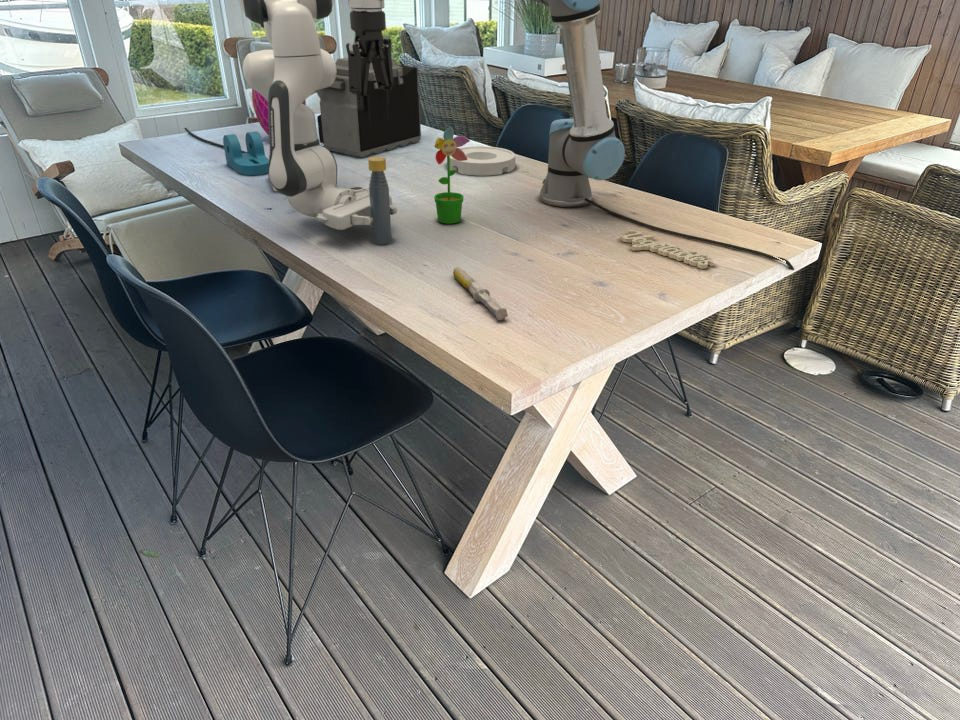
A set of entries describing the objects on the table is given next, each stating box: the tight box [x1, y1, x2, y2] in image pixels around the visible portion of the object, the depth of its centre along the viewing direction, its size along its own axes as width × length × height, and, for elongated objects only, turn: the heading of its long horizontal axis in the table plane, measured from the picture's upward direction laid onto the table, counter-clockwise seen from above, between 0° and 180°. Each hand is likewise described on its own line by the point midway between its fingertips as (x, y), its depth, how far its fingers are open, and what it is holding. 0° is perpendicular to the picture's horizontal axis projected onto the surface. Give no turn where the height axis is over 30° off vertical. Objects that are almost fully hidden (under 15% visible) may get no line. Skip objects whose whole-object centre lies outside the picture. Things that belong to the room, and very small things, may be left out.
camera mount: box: [222, 131, 269, 176], centre depth 226 cm, size 18×10×10 cm, turn 35°
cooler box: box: [315, 57, 422, 159], centre depth 250 cm, size 37×22×30 cm, turn 144°
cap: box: [367, 156, 387, 172], centre depth 163 cm, size 4×4×2 cm
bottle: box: [368, 170, 393, 246], centre depth 167 cm, size 5×5×20 cm
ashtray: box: [450, 145, 516, 177], centre depth 233 cm, size 23×23×4 cm
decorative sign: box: [621, 229, 715, 270], centre depth 168 cm, size 26×1×10 cm
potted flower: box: [433, 126, 471, 225], centre depth 180 cm, size 9×8×25 cm
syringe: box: [452, 266, 509, 321], centre depth 145 cm, size 25×4×3 cm, turn 21°
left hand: (383, 216), depth 169 cm, fingers open, 8 cm apart
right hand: (374, 122), depth 158 cm, fingers open, 6 cm apart
